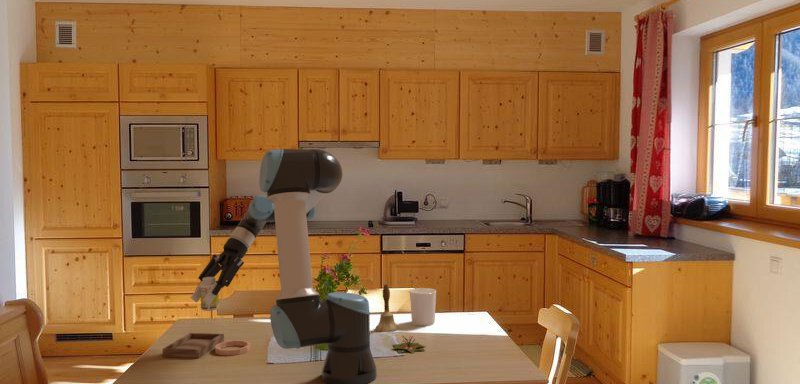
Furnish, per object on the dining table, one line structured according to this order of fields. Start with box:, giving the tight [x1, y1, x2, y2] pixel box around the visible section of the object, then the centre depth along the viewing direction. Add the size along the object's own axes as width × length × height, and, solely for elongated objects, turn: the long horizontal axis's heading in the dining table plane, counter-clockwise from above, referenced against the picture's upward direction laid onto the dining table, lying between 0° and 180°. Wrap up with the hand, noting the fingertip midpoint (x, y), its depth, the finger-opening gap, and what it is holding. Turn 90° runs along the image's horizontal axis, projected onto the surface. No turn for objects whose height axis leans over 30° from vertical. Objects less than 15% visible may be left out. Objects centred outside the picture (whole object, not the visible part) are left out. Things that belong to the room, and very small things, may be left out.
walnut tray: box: [162, 332, 225, 359], centre depth 201 cm, size 18×12×2 cm, turn 171°
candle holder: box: [409, 287, 437, 327], centre depth 229 cm, size 10×10×12 cm
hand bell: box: [375, 284, 400, 333], centre depth 222 cm, size 8×8×16 cm
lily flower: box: [390, 334, 426, 354], centre depth 199 cm, size 12×12×5 cm
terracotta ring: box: [214, 339, 251, 356], centre depth 199 cm, size 11×11×2 cm
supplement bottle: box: [200, 276, 220, 312], centre depth 201 cm, size 6×6×10 cm
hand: (200, 301), depth 198 cm, fingers closed on supplement bottle, 5 cm apart
